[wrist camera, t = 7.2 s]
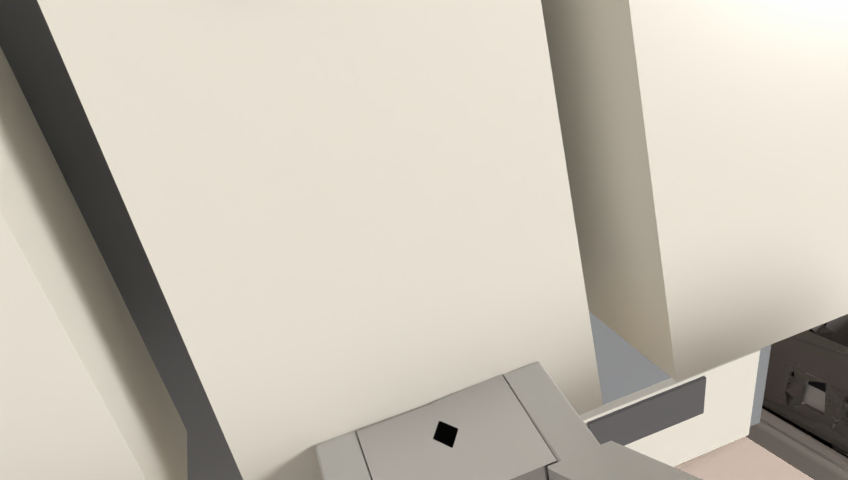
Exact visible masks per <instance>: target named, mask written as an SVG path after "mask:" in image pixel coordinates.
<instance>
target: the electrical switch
mask: <svg viewBox="0 0 848 480" xmlns="http://www.w3.org/2000/svg"><path fill="white" fill-rule="evenodd" d="M824 324H825V323H824ZM824 324H821V325H819V326H816V327H814V328H811V329H809V330H812V332H809V331H807V330H806V331H804V332H801V333H799V334H796V335H794V336H791V337H789V338H786V339H784V340H781V341H779V342H776V343H774V344H771V351H770V357H769V364H768V371H767V378H766V384H765V391H764V398H763V405H762V411H761V418H760V423H758V424H755V425H753V426H750V429H749V435H748V436H746V437H748V438H749V439H751V440H752V441H754V442H755V443H757V444H759V445H760V446H762V447H763V448H765V449H767V450H768V451H770V452H771V453H773V454H775V455H776V456H778V457H779V458H781V459H782V460H784V461H786V462H787V463H789V464H790V465H792V466H794V467H795V468H797V469H798V470H800V471H801V472H803V473H805V474H806V475H808V476H809V477H811V478H813V479H814V480H848V314H846V315H844V316H841V317H839V318H836V319H834V320H831V321H829V322H828V323H827V324H826V327H825V326H824Z"/></svg>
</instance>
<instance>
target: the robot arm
mask: <svg viewBox="0 0 848 480" xmlns="http://www.w3.org/2000/svg"><path fill="white" fill-rule="evenodd" d="M356 433H357V435H356ZM356 433H355V431H351V432H349V433H346V434H343V435H340V436H337V437H335V438H332V439H329V440H327V441H325V442H322V443H320V444H317V445H316V447H315V451H316V455H317V458H318V462H319V466H320V470H321V474H322V477H323V480H702V479H700V478H697V477H695V476H693V475H690V474H688V473H686V472H683V471H681V470H679V469H676V468H674V467H672V466H669V465H667V464H665V463H662V462H660V461H658V460H655V459H653V458H651V457H648V456H646V455H644V454H641V453H639V452H637V451H634V450H632V449H630V448H627V447H625V446H623V445H620V444H618V443H616V442H613V441H609V442H606V443H604V444H601V445H600V443H599V442H598V441H597V439H596V438H595V437H594V435H593V434H592V432H591V431H590V430H589V428H588V427H587V426H586V424H585V423H584V422H583V420H582V419H581V417H580V416H579V415H578V413H577V412H576V411H575V409H574V408H573V407H572V405H571V404H570V402H569V401H568V400H567V398H566V397H565V396H564V394H563V393H562V392H561V390H560V389H559V387H558V386H557V385H556V383H555V382H554V381H553V379H552V378H551V377H550V375H549V374H548V373H547V371H546V370H545V368H544V367H543V366H542V364H541V363H540V362H539V361H537V362H534V363H531V364H529V365H526V366H523V367H521V368H518V369H515V370H513V371H510V372H508V373H505V374H503V376H502V374H500V375H498V376H495V377H493V378H490V379H488V380H485V381H483V382H480V383H478V384H475V385H473V386H470V387H468V388H465V389H463V390H460V391H458V392H456V393H453V394H451V395H448V396H446V397H443V398H441V399H438V400H436V401H433V402H431V403H430V404H427V405H424V406H422V407H419V408H416V409H413V410H411V411H408V412H405V413H402V414H400V415H397V416H394V417H391V418H388V419H386V420H383V421H380V422H377V423H375V424H372V425H369V426H366V427H364V428H361V429H358V430H356ZM357 436H358V438H357ZM358 440H359V441H358ZM359 443H360V444H359ZM360 446H361V447H360ZM361 448H362V450H361ZM362 451H363V453H362ZM363 454H364V456H363ZM364 457H365V459H364ZM365 460H366V462H365ZM366 463H367V465H366ZM367 466H368V467H367ZM368 469H369V470H368ZM369 472H370V473H369ZM370 475H371V476H370ZM371 478H372V479H371Z"/></svg>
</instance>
